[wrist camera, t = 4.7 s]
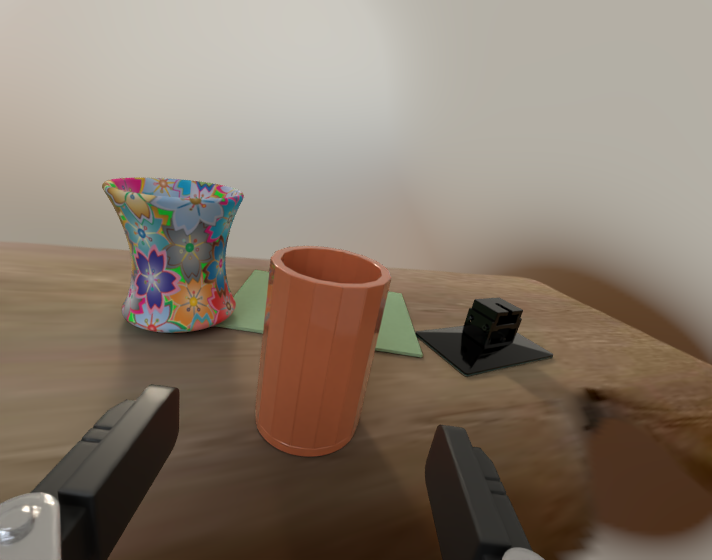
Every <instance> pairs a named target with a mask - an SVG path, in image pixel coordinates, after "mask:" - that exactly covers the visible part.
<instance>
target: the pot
mask: <svg viewBox="0 0 712 560" xmlns="http://www.w3.org/2000/svg"><path fill="white" fill-rule="evenodd" d="M390 282H391V275H390V272H389V270H388V269H387V268H385V267H384V266H383V265H381V264H380V263H379V262H377V261H374V260H372V259H370V258H368V257H365V256H363V255H359V254H356V253H353V252H349V251H346V250H340V249H334V248H328V247H318V246H296V247H287V248H284V249H281V250H278V251H276V252H275V253H274V254H273V256H272V257H271V261H270V270H269V280H268V290H267V300H266V309H265V319H264V329H263V338H262V348H261V358H260V367H259V377H258V387H257V396H256V406H255V409H256V416H255V419H256V425H257V428H258V430H259V432H260V434H261V435H262V436H263V438H264V439H265V440H266V441H267V442H268V443H270V444H271V445H272V446H273V447H275V448H277V449H279V450H281V451H283V452H286V453H289V454H292V455H297V456H304V457H316V456H323V455H327V454H330V453H333V452H335V451H337V450H339V449H341V448H342V447H344V446H345V445H346V444H347V443H348V442H349V441H350V440H351V439H352V437H353V436H354V433H355V431H356V427H357V424H358V422H359V418H360V414H361V409H362V405H363V401H364V396H365V392H366V387H367V383H368V379H369V374H370V370H371V365H372V361H373V357H374V352H375V348H376V343H377V339H378V335H379V330H380V326H381V321H382V317H383V313H384V308H385V304H386V299H387V295H388V291H389V286H390Z"/></svg>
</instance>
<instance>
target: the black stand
mask: <svg viewBox="0 0 712 560" xmlns="http://www.w3.org/2000/svg"><path fill="white" fill-rule="evenodd" d="M522 312H523V310H522V309H520V308H518V307H516V306H514V305H512V304H510V303H508V302H506V301H505V300H503V299H501V298H487V299H475V300H474V302H473V306H472V308H469V311H468V314H467V318H466V321H465V324H464V326H459V327H450V328H442V329H434V330H425V331H417V332H416V336H417V337H418V338H419V339H420V340H421V341H423V342H424V343H425V344H426V345H427V346H429V347H430V348H431V349H432V350H433V351H435V352H436V353H437V354H438V355H440V356H441V357H442V358H443V359H444V360H446V361H447V362H448V363H449V364H450V365H452V366H453V367H454V368H455V369H456V370H458V371H459V372H460V373H461V374H462V375H464V376H472V375H477V374H481V373H486V372H490V371H495V370H499V369H504V368H508V367H513V366H517V365H522V364H526V363H531V362H535V361H540V360H544V359H549V358H552V357H553V354H552V353H550V352H549V351H547V350H545V349H544V348H542V347H540V346H539V345H537V344H535V343H534V342H532V341H530V340H529V339H527V338H525V337H524V336H522V335H520V334H519V333H517V331H518V328H519V325H520V322H521V320H522V319H521V318H520V317H521V315H522ZM470 320H471V322H470Z"/></svg>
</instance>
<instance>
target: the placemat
mask: <svg viewBox="0 0 712 560" xmlns="http://www.w3.org/2000/svg"><path fill="white" fill-rule="evenodd" d="M268 280H269V272H266V271H260V270H255V271H254V272H253V273H252V274H251V276H250V277H249V278H248V279H247V281H246V282H245V283H244V284H243V286H242V287H241V288H240V289H239V291H238V292H237V293H236V295H235V296H234V299H235V302H236V306H235V310H234V312H233V313H232V314H231V315H230V316H229V317H228V318H227V319H226V320H224V321H222V322H221V323H219V324H216V325H214V326H217V327H223V328H230V329H236V330H243V331H250V332H256V333H263V329H264V319H265V309H266V300H267V290H268ZM375 351H382V352H388V353H395V354H401V355H408V356H415V357H421V358H422V356H423V354H422V351H421V349H420V346H419V343H418V340H417V337H416V334H415V331H414V328H413V325H412V323H411V320H410V317H409V314H408V311H407V308H406V305H405V302H404V299H403V296H402V294H400V293H394V292H388V295H387V299H386V304H385V308H384V313H383V317H382V321H381V326H380V330H379V335H378V339H377V343H376V348H375Z"/></svg>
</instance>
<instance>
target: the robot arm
mask: <svg viewBox="0 0 712 560" xmlns="http://www.w3.org/2000/svg"><path fill="white" fill-rule="evenodd" d="M178 432H179V389H178V388H176V387H168V386H161V385H154V384H151V385H149V386H148V387H147V388H146V389H145V390H144V391H143V393H142V394H141V395H140V396H139V397H138V398H137V399H136V401H133V400H125V401H123V402H121V403H120V404H118V405H116V406H115V407H113V408H111V409H110V410H108V411H107V412H106V413H105V414H104V415H103V416H102V417H101V418H100V419H99V420H98V421H97V423H96V424H95V425H94V427H93V429H92V428H91V429H90V430H89V431H88V432H87V433H86V434H85V435H84V436H83V437H82V440H81V441H79V442H78V443H77V444H76V445H75V446H74V447H73V448H72V449H71V450H70V451H69V452H68V453H67V455H66V456H65V457H64V458H63V459H62V460H61V461H60V462H59V463H58V464H57V465H56V466H55V467H54V468H53V469H52V471H51V472H50V473H49V474H48V475H47V476H46V477H45V478H44V479H43V480H42V481H41V482H40V483H39V484H38V485H37V487H36V488H35V489H34V490H33V491H32V492H31V493H29V494H24V495H20V496H17V497H14V498H12V499H9V500H7V501H5V502H3V503H1V504H0V560H107V558H108V557H109V555H110V553H111V552H112V550H113V548H114V547H115V545H116V543H117V542H118V540H119V538H120V537H121V535H122V533H123V532H124V530H125V528H126V527H127V525H128V523H129V522H130V520H131V518H132V517H133V515H134V513H135V511H136V510H137V508H138V506H139V505H140V503H141V501H142V500H143V498H144V496H145V495H146V493H147V491H148V490H149V488H150V486H151V485H152V483H153V481H154V480H155V478H156V476H157V475H158V473H159V471H160V470H161V468H162V466H163V465H164V463H165V461H166V460H167V458H168V456H169V455H170V453H171V451H172V450H173V447H174V445H175V443H176V440H177V436H178ZM425 481H426V486H427V491H428V495H429V500H430V505H431V509H432V514H433V518H434V523H435V527H436V532H437V536H438V541H439V545H440V550H441V554H442V559H443V560H545V559H543V558H542V557H541V556H539V555H538V554H536V553H535V552H533V551H532V549H531V547H530V544H529V542H528V540H527V538H526V536H525V533H524V531H523V529H522V527H521V524H520V522H519V520H518V518H517V515H516V513H515V511H514V509H513V507H512V504H511V502H510V500H509V498H508V496H506V491H505V489H504V487H503V484H502V482H500V478H499V475H498V473H497V471H496V469H495V467H494V464H493V462H492V461H491V460H490V459H489V458H488V456H487V455H486V454H485V453H484V452H483V451H482V450H481V448H478V447H472V445H471V442H470V440H469V437H468V435H467V433H466V430H465V429H464V428H461V427H454V426H446V425H439V426H438V427H437V429H436V432H435V435H434V439H433V442H432V445H431V448H430V451H429V454H428V458H427V461H426V466H425Z"/></svg>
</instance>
